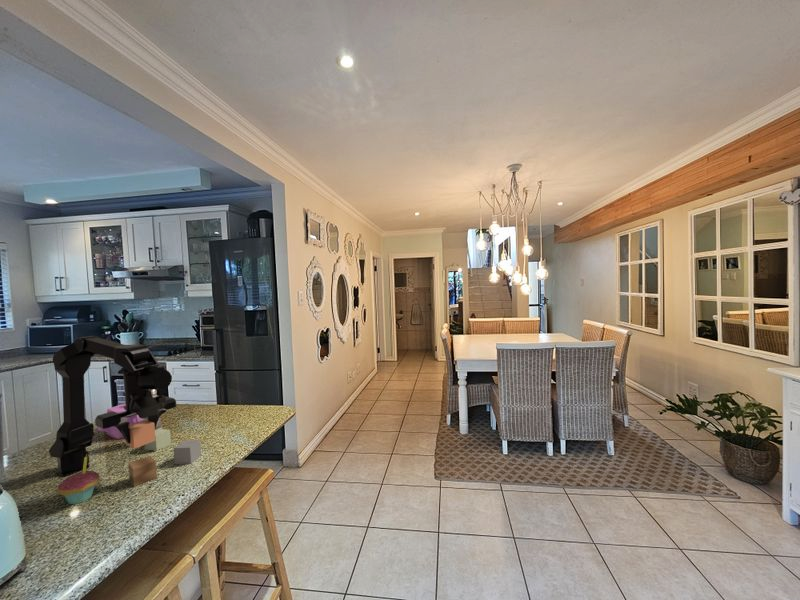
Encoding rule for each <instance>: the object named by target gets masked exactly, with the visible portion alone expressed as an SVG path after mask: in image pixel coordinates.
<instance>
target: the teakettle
mask: <svg viewBox="0 0 800 600" xmlns="http://www.w3.org/2000/svg"><path fill="white" fill-rule="evenodd" d="M124 406H126V404H125V401H124V402H123V403H122V404H118V405H116V406H111V407H108V409H107V411H106V413H108V412H112V411H113V412H116V413H121V412H125V411H126V410H125V409H124ZM143 420H144V419H143V418H139V416H138V415H134V416H131V417H128V418H126V421H127V422H129V425H131V424H134V423H137V422H140V421H143ZM96 430H97V431H99V432H105V433H106V434H107V435H108V436H110V437H111V438H114V439H115V440H119V439H124V437H123V436H122V434H121V432H120V431H119V430H118V429H117V427H114V426H113V427H109V428H106V429H102V428H100V427H98V426H96Z"/></svg>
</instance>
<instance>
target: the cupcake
mask: <svg viewBox="0 0 800 600" xmlns="http://www.w3.org/2000/svg"><path fill="white" fill-rule="evenodd" d="M86 465H87V454H86V457H84V465H83V470H80V471H78V472H75V473H73V474H71V475H70V476H68V477H67V478H65V479H63V480H62V481H61V482H60V483H59V484H58V486H57V489H56V493H57V494H58V495H61V496H64V498H65V499H66V501H67V503H68V504H70V505H75V504H80V503H83V502H85V501H87V500H88V499H90V498H91V497H92V496H93V495H94V494H93V493H94V490H95V487H96V485H97V484H98V483H99V482H100V480H101V477H100V474H99V472H96V471H94V470H87V468H86Z"/></svg>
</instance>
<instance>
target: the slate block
mask: <svg viewBox="0 0 800 600" xmlns="http://www.w3.org/2000/svg"><path fill="white" fill-rule="evenodd" d="M201 448H202V447H201V439H188V440H187V439H185V440H182V441H181V442H180V443H178V444H177V445H176V446H175V447H173V448H172V449H173V459H174V460H173V463H174V465H188V464H189V465H192V464H193V463H195V461H197V460H198V459H199V458H200V457H202V449H201Z"/></svg>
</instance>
